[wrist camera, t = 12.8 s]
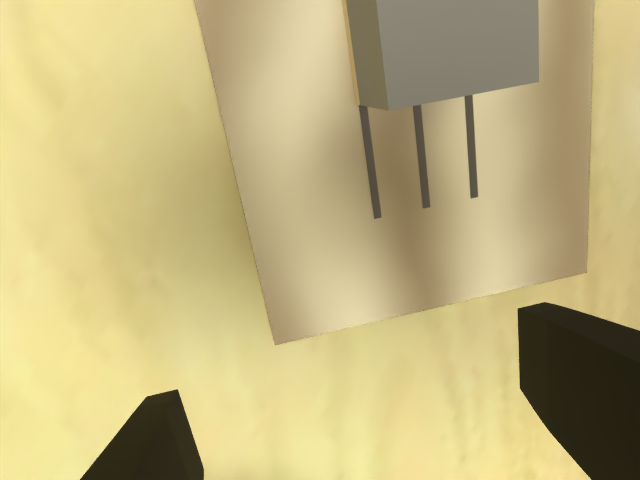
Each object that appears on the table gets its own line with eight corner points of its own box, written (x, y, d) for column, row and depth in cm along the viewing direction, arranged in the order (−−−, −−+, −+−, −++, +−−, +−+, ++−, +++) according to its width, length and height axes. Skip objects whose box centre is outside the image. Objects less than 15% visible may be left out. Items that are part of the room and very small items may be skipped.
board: (583, -233, 15) (602, -251, 15) (574, 265, 21) (587, 272, 21) (153, -179, 14) (148, -195, 13) (273, 335, 20) (275, 345, 19)
